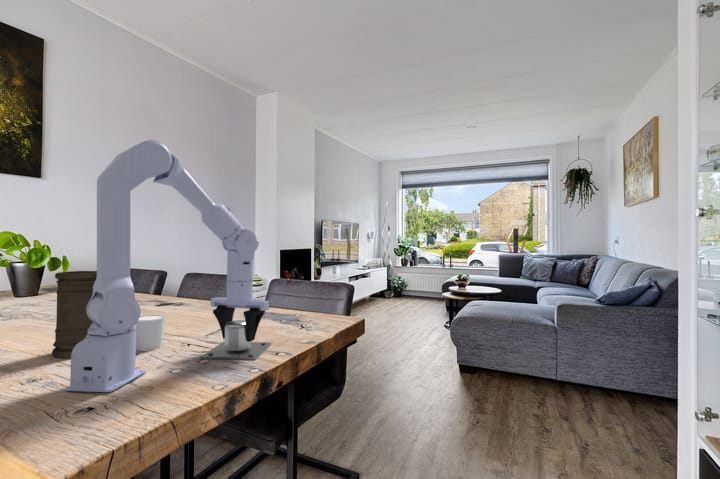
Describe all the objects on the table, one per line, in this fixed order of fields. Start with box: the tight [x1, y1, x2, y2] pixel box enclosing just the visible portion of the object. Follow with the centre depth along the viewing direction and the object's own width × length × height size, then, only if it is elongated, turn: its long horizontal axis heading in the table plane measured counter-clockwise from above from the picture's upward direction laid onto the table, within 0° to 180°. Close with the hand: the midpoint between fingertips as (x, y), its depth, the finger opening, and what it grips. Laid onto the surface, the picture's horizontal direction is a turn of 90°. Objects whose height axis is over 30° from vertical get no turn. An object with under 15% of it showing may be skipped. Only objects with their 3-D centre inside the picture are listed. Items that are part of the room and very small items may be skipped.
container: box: [51, 270, 97, 359], centre depth 80 cm, size 9×9×18 cm
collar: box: [224, 319, 253, 351], centre depth 83 cm, size 6×6×6 cm
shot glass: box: [135, 314, 166, 352], centre depth 84 cm, size 7×7×7 cm
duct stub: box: [200, 340, 272, 361], centre depth 83 cm, size 12×12×3 cm
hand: (238, 339), depth 83 cm, fingers closed on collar, 6 cm apart
